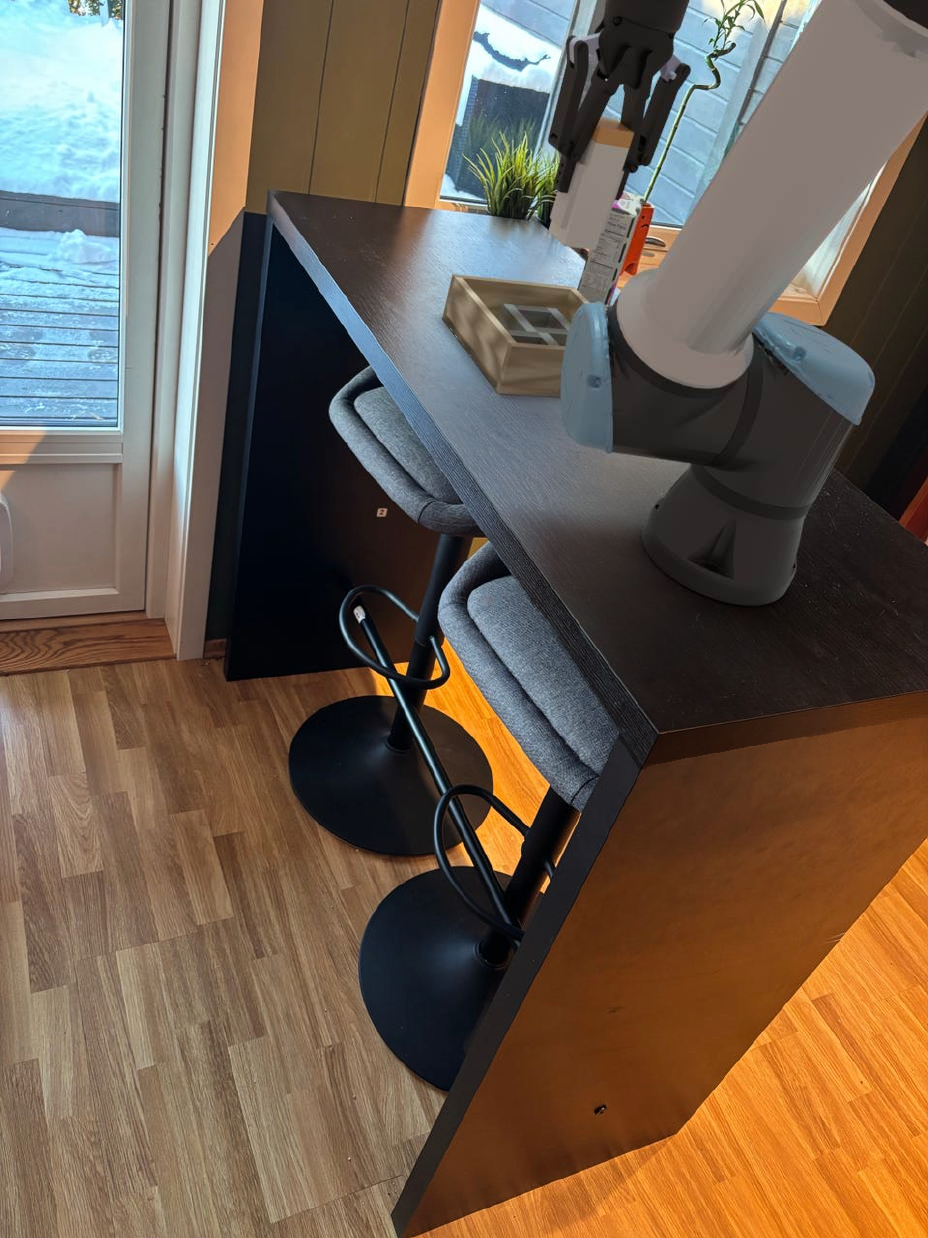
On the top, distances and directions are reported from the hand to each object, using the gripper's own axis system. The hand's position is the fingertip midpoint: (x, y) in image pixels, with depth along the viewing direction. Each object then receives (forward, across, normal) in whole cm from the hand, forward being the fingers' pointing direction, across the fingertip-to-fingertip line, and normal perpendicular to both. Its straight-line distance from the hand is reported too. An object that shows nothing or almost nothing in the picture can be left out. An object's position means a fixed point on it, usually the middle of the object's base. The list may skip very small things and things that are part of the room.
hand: (576, 224), depth 103 cm
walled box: (+20, -4, -7) cm, 21 cm away
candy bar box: (+20, -21, -23) cm, 37 cm away
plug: (+2, 0, 0) cm, 2 cm away
